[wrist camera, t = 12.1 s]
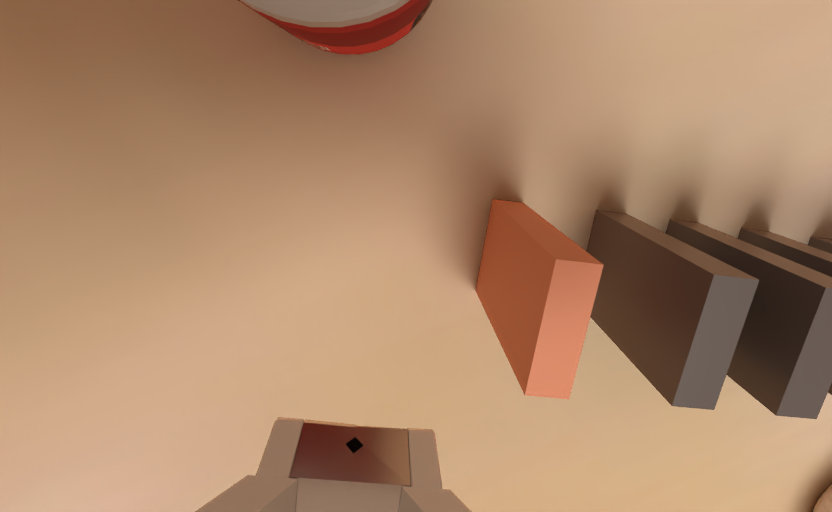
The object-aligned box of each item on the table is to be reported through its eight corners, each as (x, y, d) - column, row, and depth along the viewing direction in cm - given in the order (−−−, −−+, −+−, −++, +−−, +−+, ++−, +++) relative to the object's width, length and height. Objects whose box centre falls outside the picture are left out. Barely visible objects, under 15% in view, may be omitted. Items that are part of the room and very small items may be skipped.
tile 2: (644, 307, 28) (775, 415, 19) (669, 219, 27) (825, 287, 17) (672, 310, 28) (816, 419, 19) (698, 223, 27) (869, 292, 17)
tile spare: (475, 290, 27) (524, 395, 18) (492, 199, 26) (556, 259, 16) (504, 293, 27) (568, 399, 18) (523, 202, 26) (603, 264, 17)
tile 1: (574, 299, 28) (672, 405, 18) (596, 210, 26) (713, 274, 17) (602, 302, 28) (713, 409, 18) (626, 213, 26) (759, 279, 17)
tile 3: (713, 314, 29) (875, 424, 19) (741, 228, 27) (933, 300, 18) (739, 317, 29) (914, 428, 19) (769, 231, 27) (974, 304, 18)
